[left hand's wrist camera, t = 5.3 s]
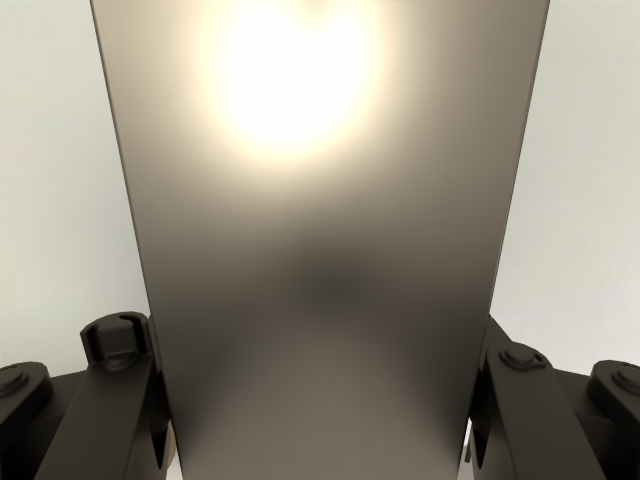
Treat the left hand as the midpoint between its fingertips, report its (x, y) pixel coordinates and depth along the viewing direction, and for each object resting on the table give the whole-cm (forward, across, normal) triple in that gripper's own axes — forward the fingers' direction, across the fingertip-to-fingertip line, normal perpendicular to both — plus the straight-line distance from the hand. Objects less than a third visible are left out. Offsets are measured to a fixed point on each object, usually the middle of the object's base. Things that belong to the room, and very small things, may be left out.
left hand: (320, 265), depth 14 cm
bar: (+1, 0, -8) cm, 8 cm away
